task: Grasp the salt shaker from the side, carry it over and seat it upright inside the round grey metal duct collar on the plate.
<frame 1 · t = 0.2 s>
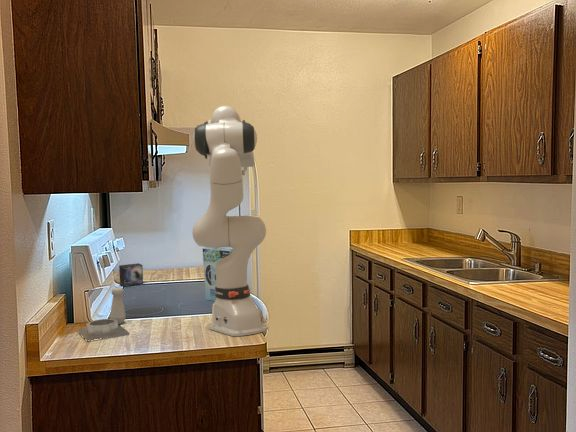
hand: (232, 175, 251), 54 cm above the worktop, tool tilted 30°, fingers open, 8 cm apart
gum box: (222, 302, 238), on the worktop
small box: (131, 285, 285), on the worktop
duct flange: (102, 333, 194), on the worktop
salt shaker: (117, 323, 207), on the worktop, touching duct flange
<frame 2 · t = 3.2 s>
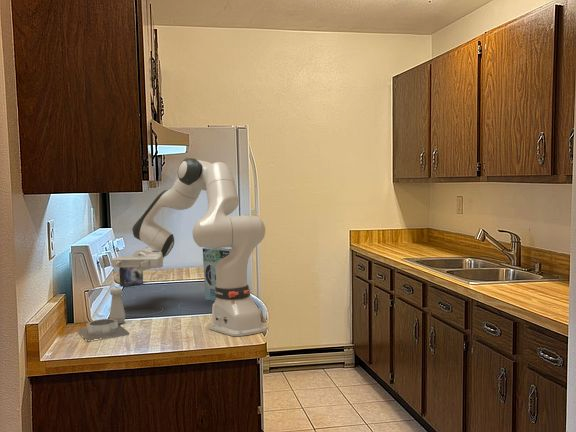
hand: (128, 265, 218), 20 cm above the worktop, tool horizontal, fingers open, 8 cm apart
nothing on the worktop moved.
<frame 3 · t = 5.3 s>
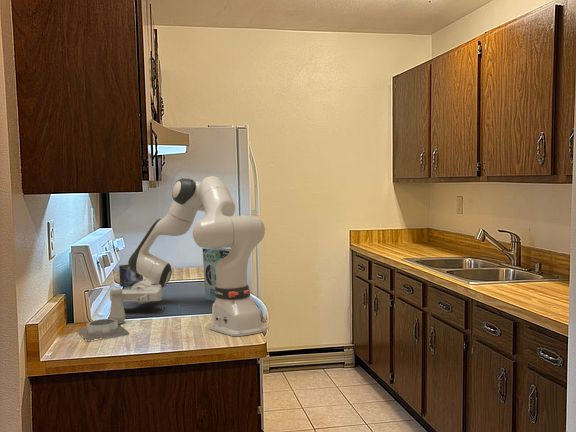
hand: (127, 299, 216), 7 cm above the worktop, tool horizontal, fingers open, 8 cm apart
nothing on the worktop moved.
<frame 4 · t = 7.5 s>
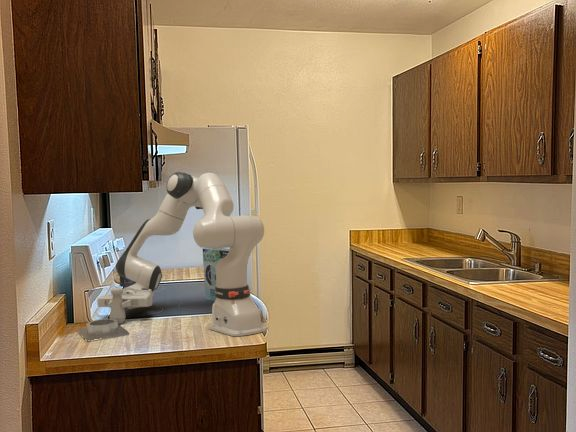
hand: (115, 305, 206), 7 cm above the worktop, tool horizontal, fingers closed on salt shaker, 3 cm apart
salt shaker: (117, 323, 207), on the worktop, touching duct flange, gripper
everything else where it was.
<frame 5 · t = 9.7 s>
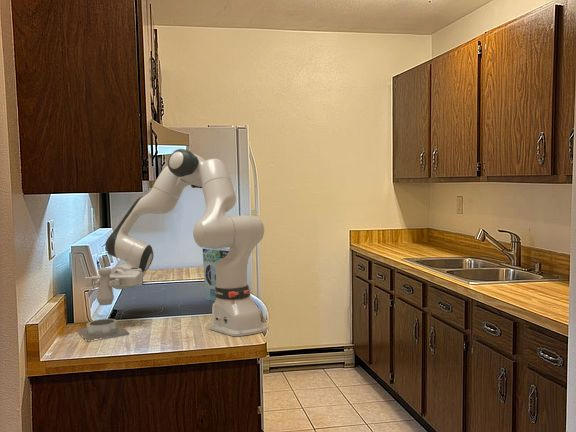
hand: (103, 284, 196), 17 cm above the worktop, tool horizontal, fingers closed on salt shaker, 3 cm apart
salt shaker: (105, 305, 197), point 9 cm above the worktop, touching gripper
everything else where it was.
when the fingers open (9 cm above the worktop, at t = 11.7 s): salt shaker stays where it is, resting on duct flange.
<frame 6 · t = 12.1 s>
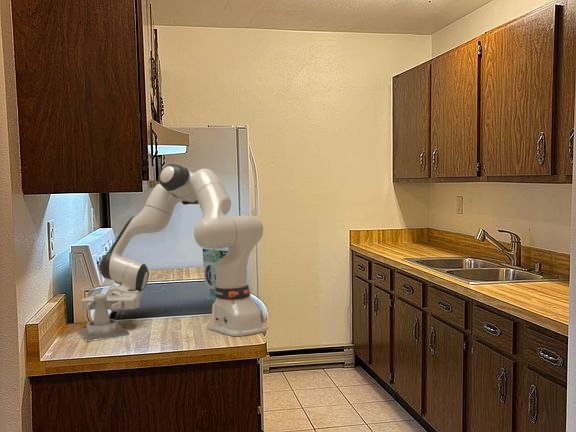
hand: (99, 307, 193), 9 cm above the worktop, tool horizontal, fingers open, 7 cm apart
salt shaker: (102, 331, 194), point 1 cm above the worktop, touching duct flange
everything else where it was.
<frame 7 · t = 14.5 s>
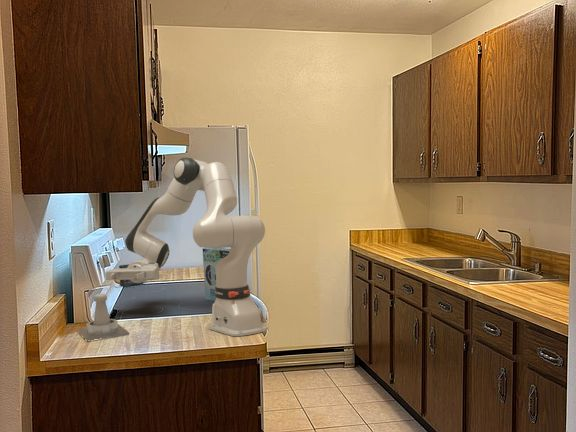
hand: (124, 277, 211), 17 cm above the worktop, tool horizontal, fingers open, 8 cm apart
nothing on the worktop moved.
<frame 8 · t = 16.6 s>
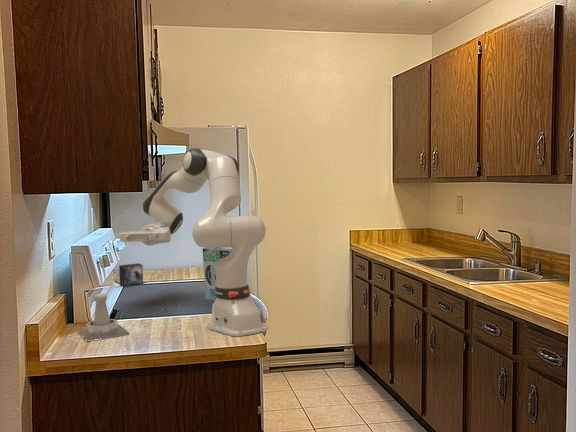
hand: (137, 238, 221), 30 cm above the worktop, tool horizontal, fingers open, 8 cm apart
nothing on the worktop moved.
at the end: salt shaker 0.1 cm off-centre on the duct flange, point 0.6 cm above the duct flange's base; salt shaker tilted 0°; the gripper is holding nothing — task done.
